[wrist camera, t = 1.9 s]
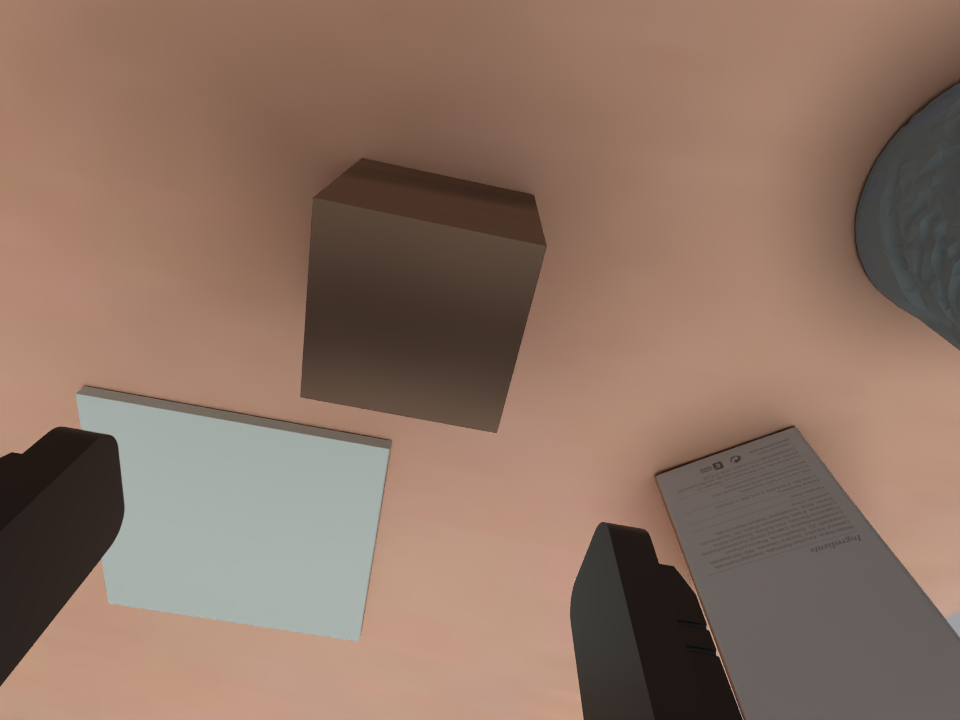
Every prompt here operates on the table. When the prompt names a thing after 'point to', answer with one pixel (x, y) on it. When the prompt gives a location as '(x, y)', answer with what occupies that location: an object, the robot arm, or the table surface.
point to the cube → (418, 293)
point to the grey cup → (917, 217)
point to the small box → (807, 591)
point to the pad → (240, 515)
